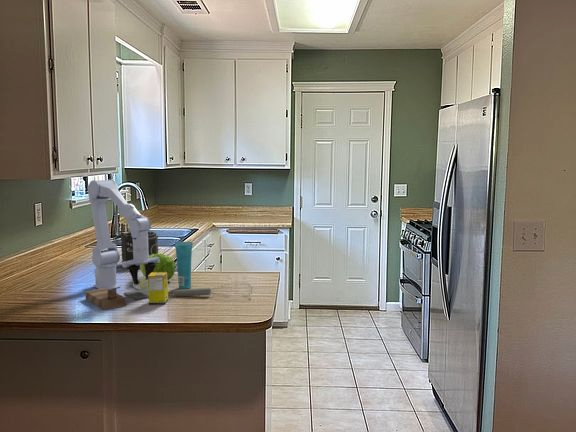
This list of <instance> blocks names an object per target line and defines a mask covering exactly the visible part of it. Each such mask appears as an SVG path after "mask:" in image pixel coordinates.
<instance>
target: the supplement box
mask: <svg viewBox="0 0 576 432" xmlns="http://www.w3.org/2000/svg"><path fill="white" fill-rule="evenodd" d="M168 281H169V280H168V278H167V272H151V273H150V274H149V275H148V291H149V298H148V305H150V306H151V305H166V304H167V303H168V301H169V294H168V293H169V284H168Z"/></svg>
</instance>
